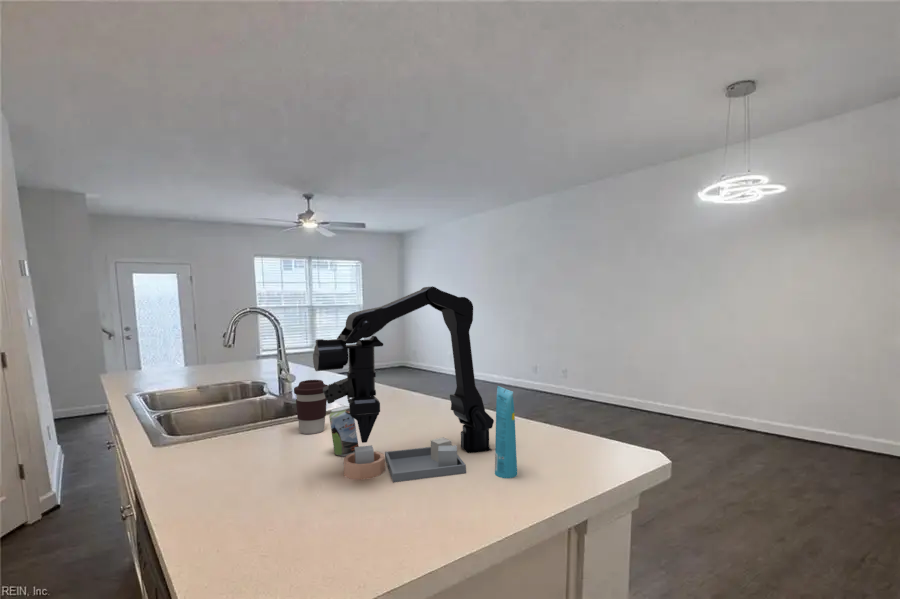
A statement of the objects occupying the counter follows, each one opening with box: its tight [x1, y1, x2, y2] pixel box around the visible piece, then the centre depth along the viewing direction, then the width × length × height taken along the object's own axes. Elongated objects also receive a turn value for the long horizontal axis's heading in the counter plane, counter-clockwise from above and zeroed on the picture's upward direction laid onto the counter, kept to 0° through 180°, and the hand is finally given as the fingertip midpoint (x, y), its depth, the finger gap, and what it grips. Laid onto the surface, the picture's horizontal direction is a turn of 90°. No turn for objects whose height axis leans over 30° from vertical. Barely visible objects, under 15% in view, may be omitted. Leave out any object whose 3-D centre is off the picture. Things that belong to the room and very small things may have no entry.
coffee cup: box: [293, 379, 329, 435], centre depth 133 cm, size 10×10×15 cm
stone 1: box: [355, 444, 375, 464], centre depth 99 cm, size 4×4×5 cm
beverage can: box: [329, 405, 360, 457], centre depth 112 cm, size 6×7×12 cm
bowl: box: [343, 450, 386, 481], centre depth 100 cm, size 9×9×4 cm
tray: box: [384, 446, 467, 483], centre depth 102 cm, size 16×14×2 cm
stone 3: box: [438, 444, 458, 467], centre depth 100 cm, size 4×4×5 cm
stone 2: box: [430, 436, 452, 462], centre depth 106 cm, size 4×3×4 cm
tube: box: [494, 385, 518, 479], centre depth 97 cm, size 7×5×19 cm, turn 26°
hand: (362, 436), depth 99 cm, fingers open, 9 cm apart
